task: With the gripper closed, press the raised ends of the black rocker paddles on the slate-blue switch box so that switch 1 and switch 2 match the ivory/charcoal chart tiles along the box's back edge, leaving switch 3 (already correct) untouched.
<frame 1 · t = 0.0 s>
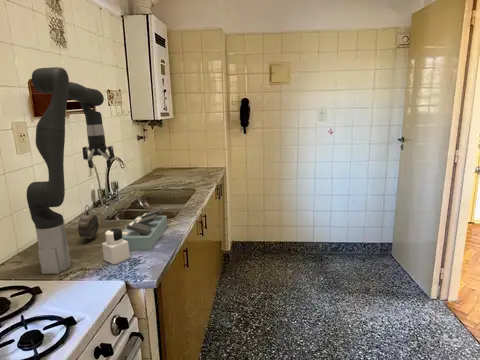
hand: (100, 167, 166), 29 cm above the countertop, fingers open, 8 cm apart
alarm clock: (91, 239, 155), on the countertop
switch 3: (152, 213, 162), point 8 cm above the countertop, hinge at -18.0°
switch 1: (139, 227, 144), point 8 cm above the countertop, hinge at 18.0°
switch 2: (146, 220, 153), point 8 cm above the countertop, hinge at -18.0°
switch box: (144, 237, 155), on the countertop
medicine bottle: (117, 259, 134), on the countertop
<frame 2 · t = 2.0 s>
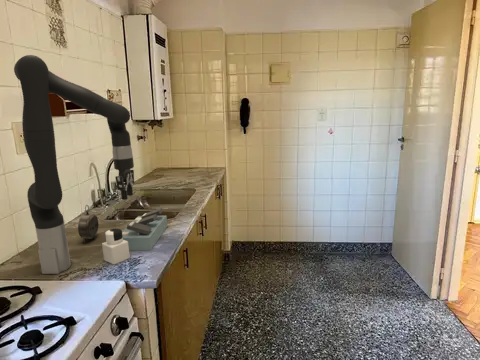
hand: (127, 197, 141), 21 cm above the countertop, fingers open, 5 cm apart
nothing on the countertop moved.
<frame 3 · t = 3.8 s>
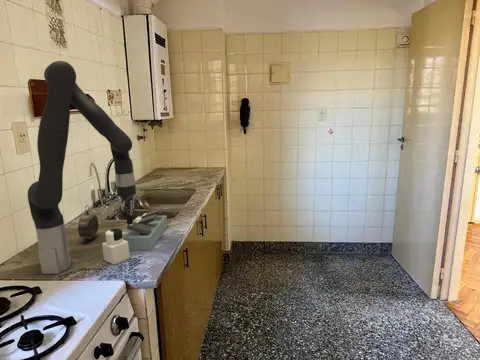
hand: (130, 223, 144), 10 cm above the countertop, fingers closed
switch 1: (139, 227, 144), point 8 cm above the countertop, hinge at 16.9°, touching gripper
everything else where it was.
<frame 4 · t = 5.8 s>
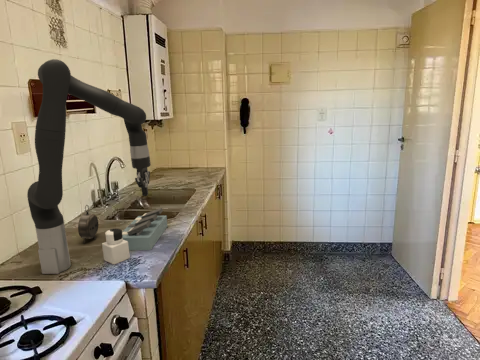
hand: (145, 195, 148), 20 cm above the countertop, fingers closed
switch 1: (139, 227, 144), point 8 cm above the countertop, hinge at -23.1°, touching switch box
everything else where it was.
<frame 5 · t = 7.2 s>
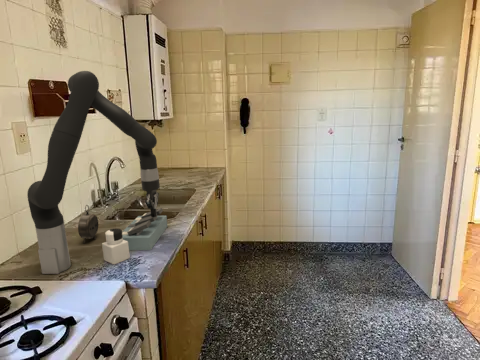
hand: (154, 216, 152), 10 cm above the countertop, fingers closed
switch 1: (139, 227, 144), point 8 cm above the countertop, hinge at -22.7°
switch 2: (146, 220, 153), point 8 cm above the countertop, hinge at -16.4°, touching gripper
everything else where it was.
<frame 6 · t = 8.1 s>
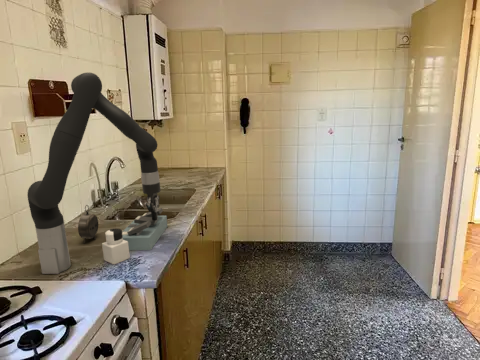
hand: (155, 219, 153), 8 cm above the countertop, fingers closed
switch 2: (146, 220, 153), point 8 cm above the countertop, hinge at 7.9°
everything else where it was.
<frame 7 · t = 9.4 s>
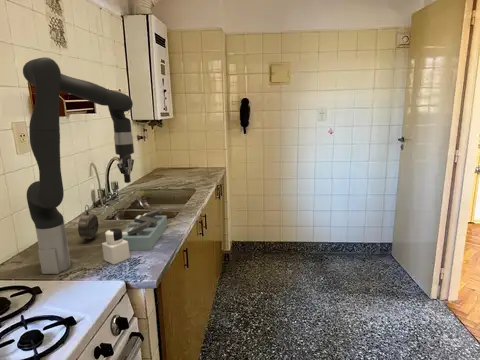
hand: (127, 182, 150), 26 cm above the countertop, fingers closed
switch 2: (146, 220, 153), point 8 cm above the countertop, hinge at 14.5°
everything else where it was.
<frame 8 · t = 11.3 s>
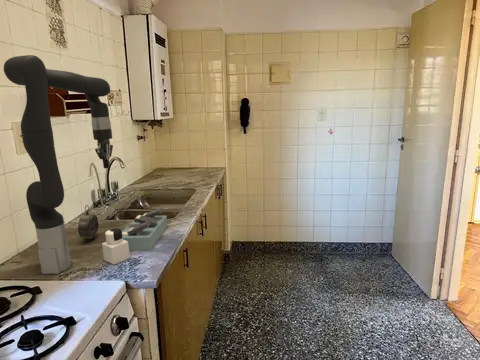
hand: (106, 167, 150), 32 cm above the countertop, fingers closed
switch 2: (146, 220, 153), point 8 cm above the countertop, hinge at 15.1°
everything else where it was.
at the end: switch 1 at -23° (first picture: +18°); switch 2 at +15° (first picture: -18°); switch 3 at -18° (first picture: -18°) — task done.
